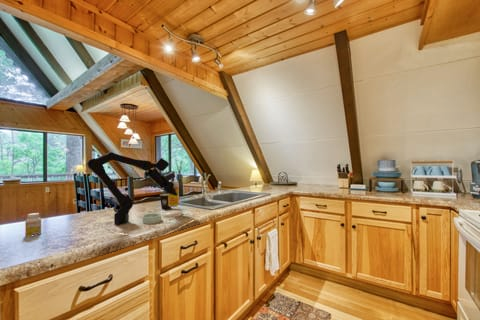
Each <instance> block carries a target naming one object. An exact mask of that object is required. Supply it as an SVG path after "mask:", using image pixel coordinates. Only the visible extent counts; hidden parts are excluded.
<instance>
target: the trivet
mask: <svg viewBox="0 0 480 320" xmlns="http://www.w3.org/2000/svg"><path fill="white" fill-rule="evenodd" d="M179 216H183V211H182V210H173V209H172V210H167V211H166V210H165V211H163V212H161V217H163V218H173V217H174V218H175V217H179Z"/></svg>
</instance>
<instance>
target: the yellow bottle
mask: <svg viewBox="0 0 480 320" xmlns="http://www.w3.org/2000/svg"><path fill="white" fill-rule="evenodd" d="M172 182H173V183H174V186H173V188H174V190H175V191H176V193H177V196H175V195H173V194H170V193H167V194H168V206H169V207H171V208H177V207H178V206H179V201H180V200H179V199H180V198H179V197H180V196H179V195H180V192H179V191H180V189H179V188H180V184H179V181H172Z"/></svg>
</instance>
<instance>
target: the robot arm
mask: <svg viewBox="0 0 480 320" xmlns="http://www.w3.org/2000/svg"><path fill="white" fill-rule="evenodd" d="M110 161H113V162H118V163H121V164H124V165H129V166H132V167H135V168H136V169H138V170H141V171H144V172H143V175H144V176H143V178H147V177H149V178H150V179H151V180H152V182H154V183H155V184H156V185H157V186H158V188H159V189H160V190H162V191H164V192H166V194H168V193H170V194H173V195H175V196H177V193H176V191H175V190H174V188H173V186H174V183H173V182H174V181H170V180H171V179H175V178H176V174H175V172H173V171H171V172H169V171H167V172H166V173H165V175H164V174H161V172H164V171H165V170H166V169H167V168H168V167H169V166H170V163H169V162H168V160H166V159H164V158H163V157H159V158H158V159H157V161H156V162H151V161H150V160H144V159H143V160H142V159H135V158H132V157H129V156H125V155H121V154H118V153H114V152H111V151H110V152H107V153H106V154H104V155H101V156H98V157H96V158H89V159H87V160H86V162H85V167H86V168H87V169H88V170H90V172H92V173H93V174H94V175H95V176H97V178H98V179H99V180H100V181H101V182H102V184H103V185H104V186H105V188H106V189H107V190H108V191H109V192H110V193H111V195H112V196H113V197H114V200H115V202H116V204H117V205H116V206H115V207H114V208H113V212H114V216H113V217H114V220H113V224H114V225H117V226H120V225H125V224H128V223H129V222H130V216H129V213H130V211H131V209H132V208H133V206H134V203H133V201H134V200H133V199H131V197H130V195H129V194H127V193H122V191H121V190H120V189H119V188H118V186H117V185H116V183H114V181H113V180H112V179H111V178H110V176H109V175H108V173H107V172H106V169H105V166H104V165H105V164H107V163H109V162H110Z"/></svg>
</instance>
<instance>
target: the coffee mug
mask: <svg viewBox="0 0 480 320" xmlns="http://www.w3.org/2000/svg"><path fill="white" fill-rule="evenodd" d="M159 198H160V199H159V200H160V206H161V207H160V208H161V210H162V211H163V210H165V211H166V210H167V211H168V210H171V209H172V207H169V206H168V193H162V194H159Z"/></svg>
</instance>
